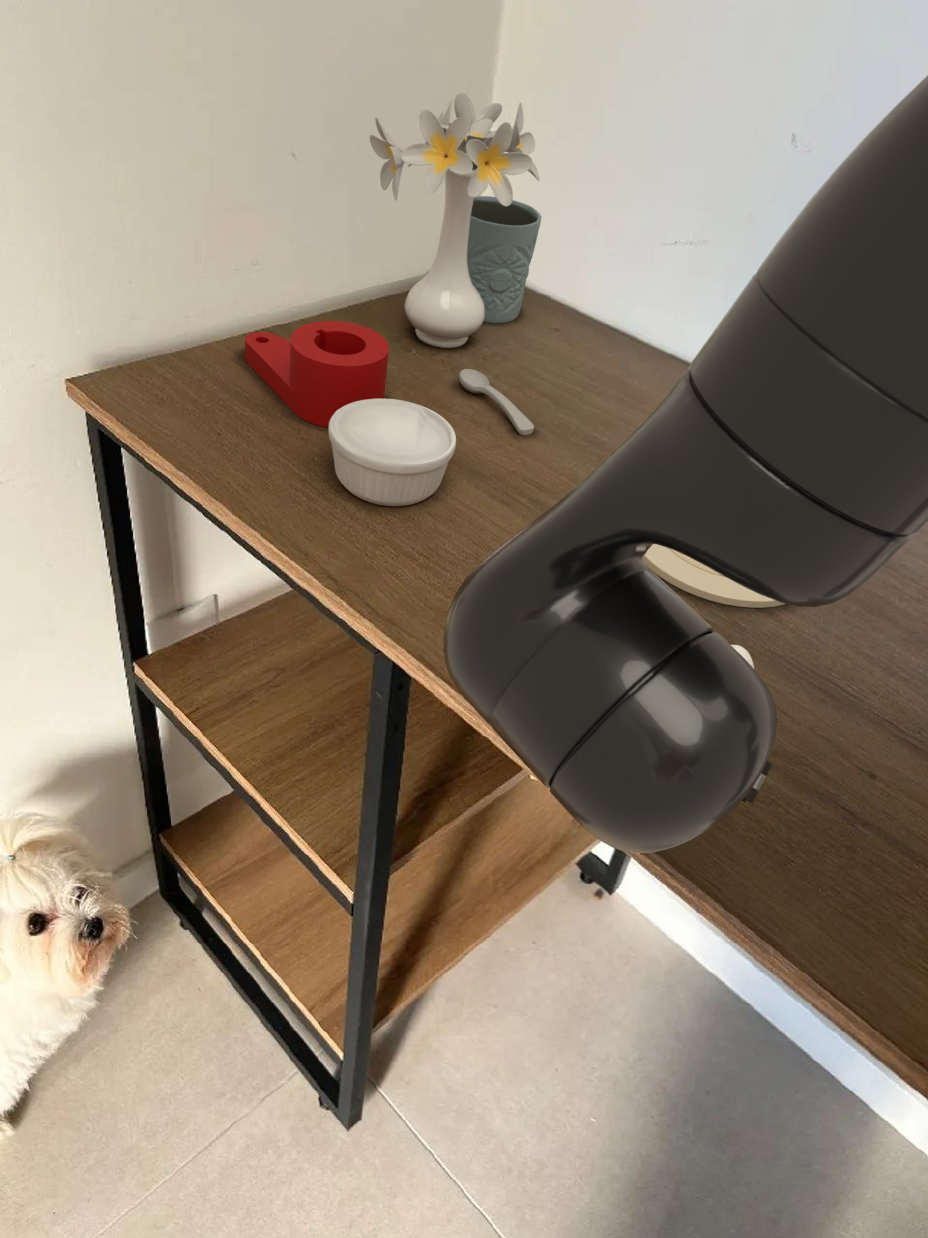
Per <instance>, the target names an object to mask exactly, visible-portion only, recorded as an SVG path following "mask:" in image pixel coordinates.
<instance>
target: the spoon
mask: <svg viewBox="0 0 928 1238" xmlns="http://www.w3.org/2000/svg"><path fill="white" fill-rule="evenodd" d="M458 381H459V383H460V385H461V386H462V388H464V389H465V390H466V391H467V392H468V393H472V394H478V395H479V394H485V395H487V396H488V397H490V398H491V399H492V400H493V401H494V402H495V403H496V404H497V405H498V406H499V407H500V408H501V410H502V411H503V412H504V413H505V415H506V416H507V418H508V419H509V420H510V423H512V425H513V427H514V429H515V430H516V431H517V433H518V434H519V435H521V436H528V435H531V434H533V432H534V430H535V425H534V424H533V422H532V421H531V419H529V418H527V416H526V415H524V413H522V412H521V411H520V409H518V407H516V405H515V404H513V402H512V401H510V399H508V397H506V396H505V395H503V394H502V393H501V392H500V391H499V390H497V389H496V388H494V387H493V386H492V385H490V380H489V379H488V377H487V376H486V375H485V374H483V373H482V372H480V371H478V370H475V369H472V368H464V369H462V370H460V371H459V374H458Z"/></svg>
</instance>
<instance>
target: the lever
mask: <svg viewBox="0 0 928 1238" xmlns="http://www.w3.org/2000/svg"><path fill="white" fill-rule="evenodd" d="M389 347H390V346H389V343H388V341H387V340H386V338H385V337H384V336H383V335H382V334H380V333H379V332H377V331H376V330H374V329H371V328H369V327H367V326H364V325H360V324H358V323H353V322H347V321H341V320H340V321H338V320H323V321H313V322H310V323H306V324H303V325H302V326H299V327H298V328H296V329H295V330H293V332H292V333H291V335H290V339H287V338H285V337H282V336H279V335H277V334H275V333H271V332H268V331H267V332H266V331H253V332H249V333H248V334H246V335H245V337H244V359H245V362H246V363H247V364H248V365H249V366H250V367H251V368H252V370H254V371H255V373H257V375H259V377H260V378H261V379H262V380H263V381H264V382H265V383H266V384H267V385H268V386H269V387H270V388H271V390H272V391H274V392H275V394H277V396H278V397H279V398H280V399H281V400H282V401H283V402H284V403H285V405H287V406H288V408H289V409H290V410H291V411H292V412H293V413H294V414H295V415H296V416H297V417H299V418H300V419H302V420H304V421H306V422H308V423H310V424H313V425H315V426H319V427H324V428H328V429H329V422H330V419H331V417H332V416H333V414H334V413H335V412H336V411H337V410H338V409H340V408H342V407H343V406H345V405H347V404H350V403H353V402H356V401H361V400H367V399H379V398H381V399H385V394H386V382H387V373H388V363H389V351H390V348H389Z"/></svg>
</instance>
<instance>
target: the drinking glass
mask: <svg viewBox="0 0 928 1238" xmlns="http://www.w3.org/2000/svg"><path fill="white" fill-rule="evenodd" d="M541 222H542V215H541V213H540V212H539V211H538V210H537V209H535V208H534V207H533V206H531V205H530V204H526V203H524V202H521V201H518V200H515V199H512V203H511V204H510V205H509V206H503V205H502V204H501V203H500V202H499V201H498V200H497V198H496V197H495V196H490V195H480V196H478V197H475V198H474V202H473V206H472V212H471V219H470V228H469V238H468V250H467V264H468V270H469V275H470V278H471V282H472V284H473V285H474V287H475V288H476V289H477V291H478V292H479V294H480V296H481V298H482V300H483V302H484V306H485V318H484V322H483V323H487V324H504V323H505V324H506V323H510V322H512V321H514V320H515V319H517V318H518V316H519V315H520V313H521V308H522V304H523V300H524V294H525V286H526V283H527V279H528V276H529V273H530V265H531V262H532V259H533V255H534V252H535V248H536V245H537V239H538V235H539V230H540V227H541Z"/></svg>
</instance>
